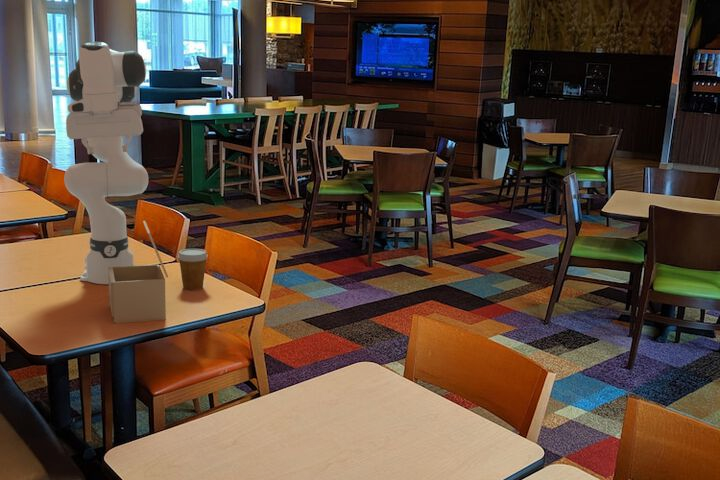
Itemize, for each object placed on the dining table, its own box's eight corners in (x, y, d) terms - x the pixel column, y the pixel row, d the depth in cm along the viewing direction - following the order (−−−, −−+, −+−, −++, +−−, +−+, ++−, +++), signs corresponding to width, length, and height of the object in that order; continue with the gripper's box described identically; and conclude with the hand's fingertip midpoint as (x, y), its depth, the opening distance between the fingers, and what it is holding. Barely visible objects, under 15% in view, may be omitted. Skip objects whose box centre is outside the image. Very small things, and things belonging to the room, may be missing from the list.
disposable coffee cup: (193, 281, 252) (193, 246, 250) (213, 287, 247) (213, 251, 244) (171, 287, 245) (171, 251, 242) (192, 293, 239) (191, 257, 237)
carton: (109, 305, 225) (108, 267, 222) (159, 302, 230) (158, 264, 227) (112, 323, 210) (110, 282, 207) (165, 319, 215) (165, 279, 213)
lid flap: (142, 221, 222) (144, 220, 222) (160, 263, 227) (162, 262, 227) (147, 233, 208) (150, 232, 208) (166, 277, 213) (168, 276, 213)
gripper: (141, 99, 211) (147, 148, 216) (65, 103, 208) (73, 153, 212) (139, 102, 206) (145, 152, 210) (61, 106, 202) (69, 157, 206)
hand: (108, 152), depth 211 cm, fingers open, 8 cm apart
